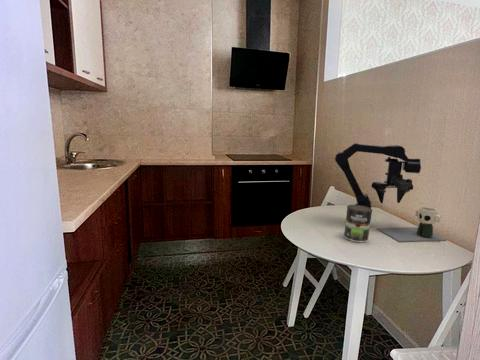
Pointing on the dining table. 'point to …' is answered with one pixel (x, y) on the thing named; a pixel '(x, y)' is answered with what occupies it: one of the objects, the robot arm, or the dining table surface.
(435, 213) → the character mug
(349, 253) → the dining table surface
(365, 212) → the coffee can
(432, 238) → the placemat
